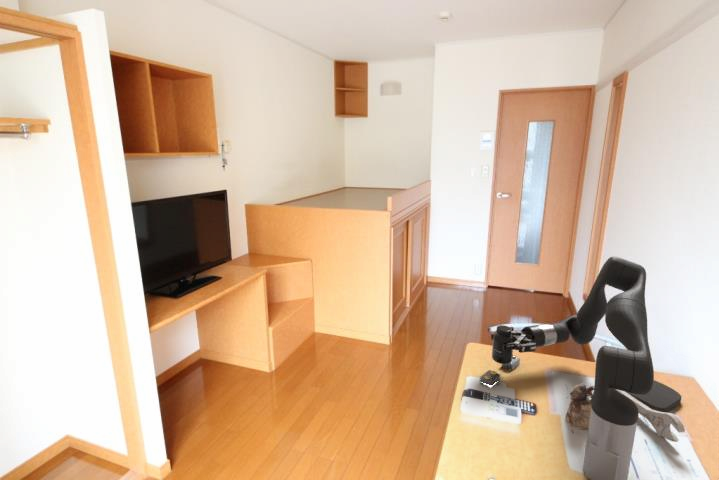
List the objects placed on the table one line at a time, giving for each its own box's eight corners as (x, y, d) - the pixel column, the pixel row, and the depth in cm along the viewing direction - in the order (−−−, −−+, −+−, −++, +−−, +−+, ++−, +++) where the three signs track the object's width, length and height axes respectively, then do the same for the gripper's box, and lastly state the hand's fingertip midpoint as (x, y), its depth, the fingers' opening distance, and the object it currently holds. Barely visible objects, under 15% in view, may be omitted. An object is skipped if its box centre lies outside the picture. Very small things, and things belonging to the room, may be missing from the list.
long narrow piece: (490, 388, 131) (491, 380, 131) (480, 383, 134) (480, 375, 134) (519, 364, 145) (520, 357, 145) (509, 360, 148) (509, 353, 148)
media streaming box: (661, 417, 117) (662, 408, 116) (610, 392, 129) (611, 383, 128) (685, 401, 124) (686, 393, 123) (634, 378, 136) (636, 371, 135)
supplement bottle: (491, 363, 137) (493, 331, 134) (491, 353, 143) (493, 322, 140) (513, 365, 135) (515, 333, 132) (511, 355, 141) (513, 324, 138)
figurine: (566, 410, 120) (570, 375, 117) (593, 418, 117) (598, 382, 114) (564, 424, 114) (568, 387, 111) (592, 432, 111) (597, 395, 108)
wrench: (603, 393, 133) (683, 450, 103) (598, 393, 133) (677, 451, 103) (604, 370, 132) (686, 421, 102) (599, 370, 132) (679, 422, 102)
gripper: (527, 317, 146) (486, 323, 142) (554, 335, 133) (510, 342, 129) (525, 336, 148) (485, 342, 144) (552, 355, 134) (508, 362, 131)
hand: (497, 342), depth 137 cm, fingers closed on supplement bottle, 6 cm apart
